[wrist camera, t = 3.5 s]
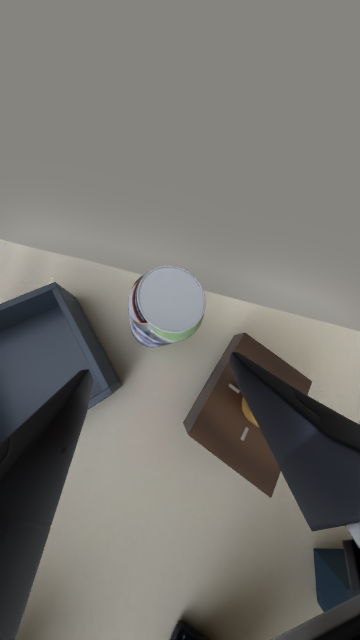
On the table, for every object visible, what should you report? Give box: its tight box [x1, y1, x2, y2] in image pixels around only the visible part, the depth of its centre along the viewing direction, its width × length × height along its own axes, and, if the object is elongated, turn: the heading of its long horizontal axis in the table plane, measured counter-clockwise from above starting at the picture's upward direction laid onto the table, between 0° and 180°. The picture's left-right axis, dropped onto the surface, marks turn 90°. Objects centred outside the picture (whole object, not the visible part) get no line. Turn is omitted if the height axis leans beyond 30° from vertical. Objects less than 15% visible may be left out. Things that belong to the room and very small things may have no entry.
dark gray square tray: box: [0, 282, 122, 443], centre depth 16 cm, size 14×14×4 cm
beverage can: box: [129, 266, 206, 347], centre depth 15 cm, size 6×7×12 cm
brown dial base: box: [184, 333, 312, 498], centre depth 19 cm, size 14×11×3 cm
